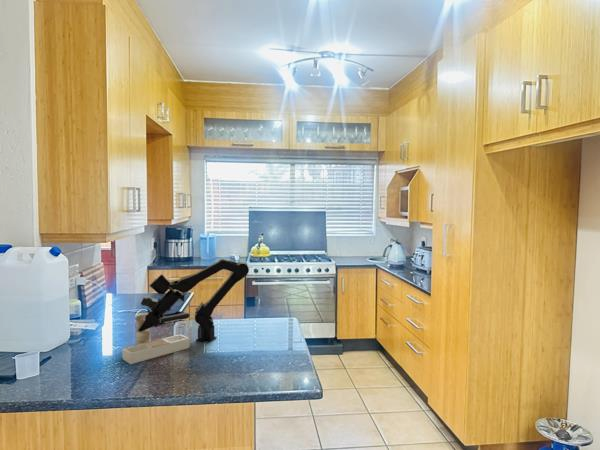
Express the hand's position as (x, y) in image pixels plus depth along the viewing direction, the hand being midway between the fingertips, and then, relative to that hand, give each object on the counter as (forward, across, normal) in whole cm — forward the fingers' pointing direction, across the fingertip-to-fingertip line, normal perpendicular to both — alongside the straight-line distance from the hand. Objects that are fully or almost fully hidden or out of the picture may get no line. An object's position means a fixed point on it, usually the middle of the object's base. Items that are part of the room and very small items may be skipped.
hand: (139, 329), depth 166 cm
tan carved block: (+4, 0, +6) cm, 7 cm away
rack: (-1, +11, +10) cm, 15 cm away
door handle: (-1, -37, +11) cm, 39 cm away
